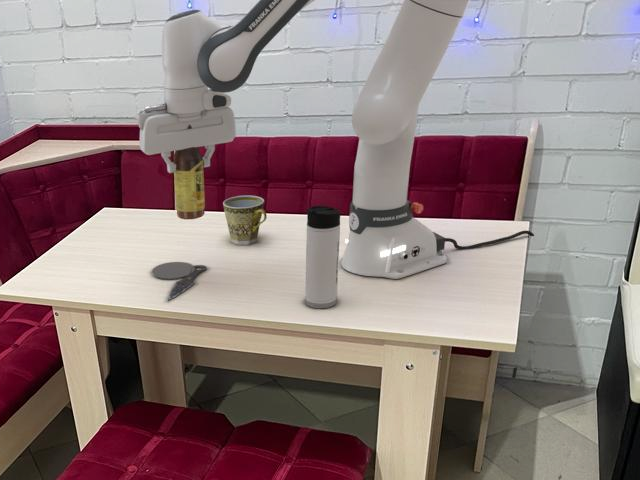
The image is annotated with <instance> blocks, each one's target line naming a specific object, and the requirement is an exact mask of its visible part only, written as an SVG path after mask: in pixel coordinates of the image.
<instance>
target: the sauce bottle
mask: <svg viewBox="0 0 640 480" xmlns="http://www.w3.org/2000/svg"><path fill="white" fill-rule="evenodd" d="M187 129H192V126H191V125H188V128H187ZM199 148H200V147H191V148H186V149H183V150H177V151H174V154H173V162H174V163H175V164H176V169H177V171H176V172H174V173H173V177H174V196H175V207H176V208H175V209H176V215H177V218H179V219H181V220H196V219H199V218H202V217H203V216H205V208H206V200H205V199H206V198H205V196H206V195H205V175H204V168H203V158H202V157H203V156H202V153H201V151H200V149H199Z"/></svg>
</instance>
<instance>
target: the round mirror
mask: <svg viewBox="0 0 640 480" xmlns="http://www.w3.org/2000/svg"><path fill="white" fill-rule="evenodd" d="M193 266H194V265H193V264H191V263H189V262H184V261H170V262H165V263H162V264H159V265H156V266H155V267H154V268H153V269H152V270H151V274H152V276H153V277H154V278H156V279H159V280H164V281H165V280H166V281H175V280H182V279H184V278H185V277H186V276H187V275H188V274H189V273H190V272H191V269H192V272H191V273H190V274H192V273H193V272H194V270H195V268H194V267H193Z"/></svg>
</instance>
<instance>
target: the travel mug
mask: <svg viewBox="0 0 640 480" xmlns="http://www.w3.org/2000/svg"><path fill="white" fill-rule="evenodd" d="M305 211H306V213H305V214H307V216H306V217H307V220H306V242H305V244H306V245H305V246H306V248H305V249H306V250H305V281H304V282H305V287H304V294H305V295H304V303H305V304H306V305H307V307H310V308H314V309H328V308H331V307H334V306H335V305H336V304H337V300H338V296H337V295H338V279H339V277H338V276H339V262H340V261H339V259H340V258H339V257H340V237H341V210H340V209H336V208H334V207H333V206H327V205H315V206H313V205H312V206H308V207H307V209H306V210H305Z"/></svg>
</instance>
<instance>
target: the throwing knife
mask: <svg viewBox="0 0 640 480" xmlns="http://www.w3.org/2000/svg"><path fill="white" fill-rule="evenodd" d="M193 267H194V268H195V270H194V272H193V273H192V274H190V273H191V272H192V269H191V272H190V273H189V274H188V275H187V276H186V277H185V278H182V279H179V280H177V281H176V282H175V283H174V284H173V287H172V288H171V291H170V292H169V295H168V298H167V301H170V300H172V299H174V298H175V297H177V296H179V295H180V294H182V293H183V292H185V291H187V290H188V289H190V288H191V287H192V286H194V285H195V282H194V280H195V279H196V278H197V277H198V276H199V275H201V274H202V273H205V272H206V271H207V266H206V265H203V264H196V265H193Z"/></svg>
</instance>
